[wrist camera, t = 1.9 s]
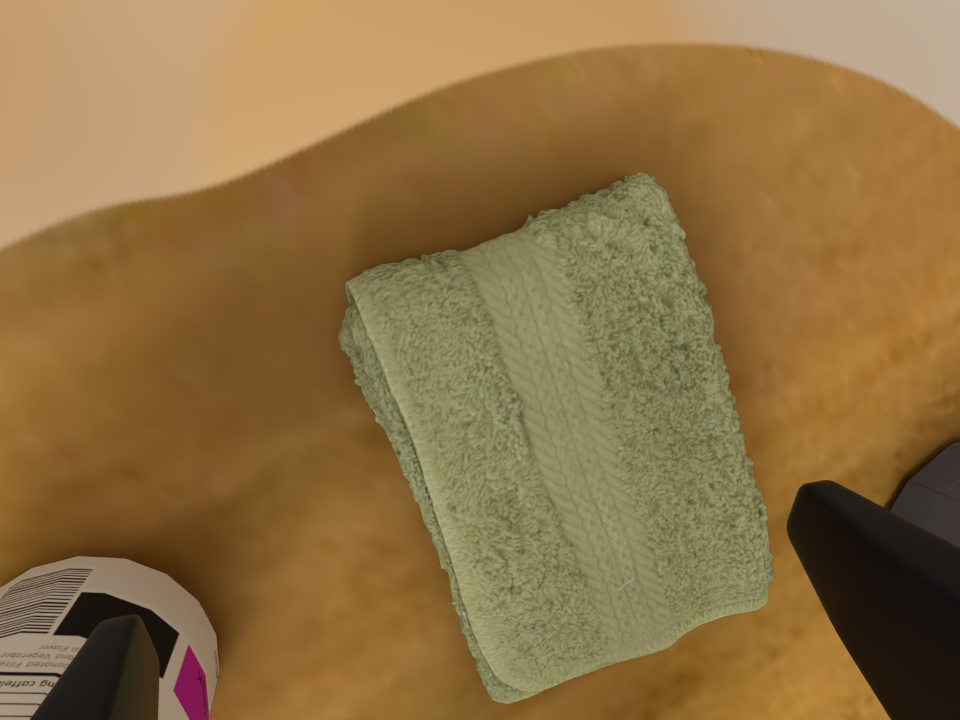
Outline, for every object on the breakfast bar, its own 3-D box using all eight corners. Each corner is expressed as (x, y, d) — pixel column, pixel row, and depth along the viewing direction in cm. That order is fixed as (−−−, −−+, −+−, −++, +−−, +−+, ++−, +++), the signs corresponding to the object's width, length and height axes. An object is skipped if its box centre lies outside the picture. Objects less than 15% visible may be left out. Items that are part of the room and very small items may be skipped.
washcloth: (484, 698, 28) (504, 755, 25) (315, 285, 24) (314, 293, 21) (765, 565, 30) (816, 602, 27) (653, 160, 26) (698, 150, 23)
